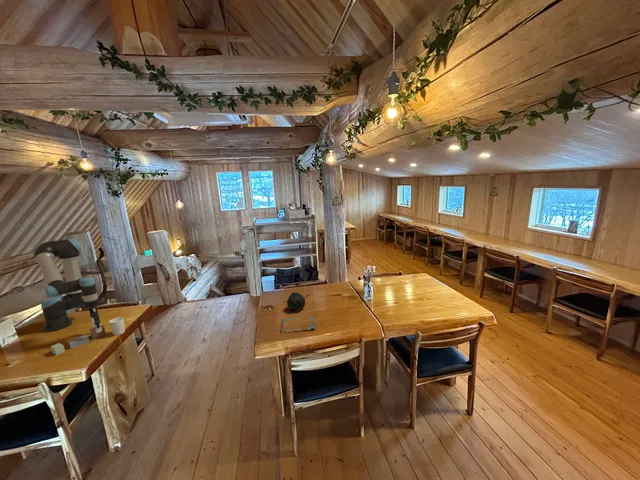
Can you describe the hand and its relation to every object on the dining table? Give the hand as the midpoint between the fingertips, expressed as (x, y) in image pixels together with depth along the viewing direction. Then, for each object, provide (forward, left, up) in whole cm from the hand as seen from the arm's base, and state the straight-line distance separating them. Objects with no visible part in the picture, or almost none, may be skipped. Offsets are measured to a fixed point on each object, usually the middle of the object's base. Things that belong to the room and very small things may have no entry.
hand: (97, 329), depth 175 cm
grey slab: (+2, -10, -6) cm, 12 cm away
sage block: (+4, -20, -5) cm, 21 cm away
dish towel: (+101, +94, -6) cm, 138 cm away
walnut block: (0, 0, -5) cm, 5 cm away
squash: (+81, +112, -6) cm, 138 cm away
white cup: (+7, +10, -6) cm, 13 cm away
